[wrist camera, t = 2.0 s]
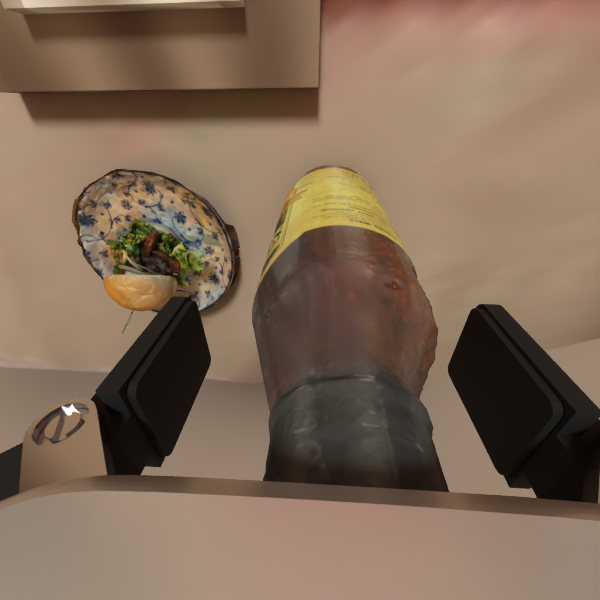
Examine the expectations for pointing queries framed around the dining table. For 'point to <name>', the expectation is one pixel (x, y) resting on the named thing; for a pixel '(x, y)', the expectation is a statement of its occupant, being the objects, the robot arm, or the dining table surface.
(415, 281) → the sauce bottle
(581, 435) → the robot arm
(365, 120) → the dining table surface
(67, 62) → the walnut board
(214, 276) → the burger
